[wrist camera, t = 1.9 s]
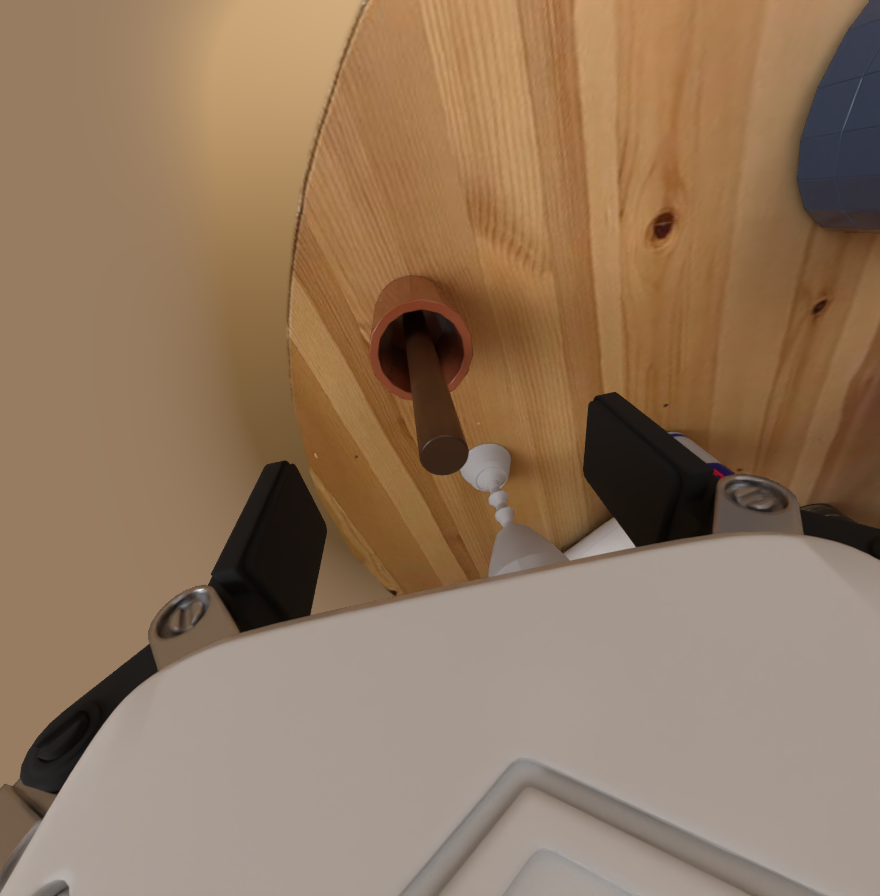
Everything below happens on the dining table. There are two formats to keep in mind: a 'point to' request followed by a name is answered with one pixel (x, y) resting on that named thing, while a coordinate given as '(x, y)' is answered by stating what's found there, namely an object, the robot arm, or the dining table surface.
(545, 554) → the chalice
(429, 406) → the stick
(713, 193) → the dining table surface
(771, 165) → the dining table surface
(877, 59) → the bowl
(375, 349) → the crock
